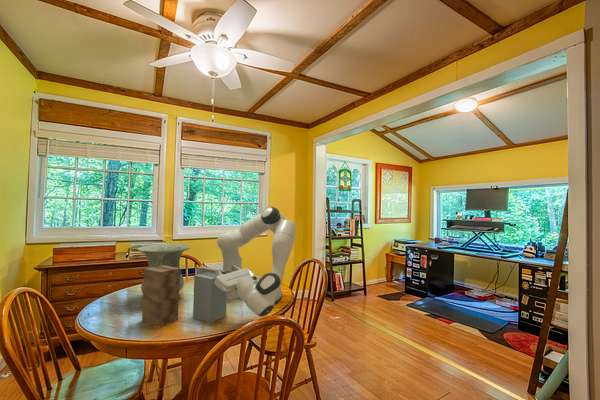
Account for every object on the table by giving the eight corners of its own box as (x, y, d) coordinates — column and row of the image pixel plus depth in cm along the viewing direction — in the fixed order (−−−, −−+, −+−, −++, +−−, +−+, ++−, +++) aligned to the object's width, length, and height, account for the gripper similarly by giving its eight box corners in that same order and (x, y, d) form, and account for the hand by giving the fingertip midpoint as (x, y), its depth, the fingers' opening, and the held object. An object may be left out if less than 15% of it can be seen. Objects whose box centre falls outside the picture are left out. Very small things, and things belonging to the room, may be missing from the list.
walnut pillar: (162, 314, 134) (164, 265, 135) (177, 319, 128) (179, 268, 129) (141, 321, 125) (144, 268, 126) (157, 327, 119) (159, 272, 120)
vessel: (148, 313, 135) (151, 252, 136) (126, 301, 151) (128, 246, 152) (198, 299, 156) (199, 247, 157) (174, 290, 172) (175, 242, 173)
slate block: (209, 310, 140) (210, 271, 141) (226, 315, 134) (227, 274, 135) (192, 316, 132) (194, 275, 132) (210, 322, 126) (211, 279, 126)
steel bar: (201, 271, 139) (202, 265, 140) (233, 278, 128) (233, 272, 128) (196, 272, 137) (197, 266, 137) (228, 279, 125) (228, 273, 126)
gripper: (223, 299, 115) (204, 278, 121) (255, 287, 132) (237, 269, 138) (229, 287, 113) (210, 267, 119) (260, 276, 131) (242, 259, 137)
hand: (225, 268), depth 129 cm, fingers open, 8 cm apart
